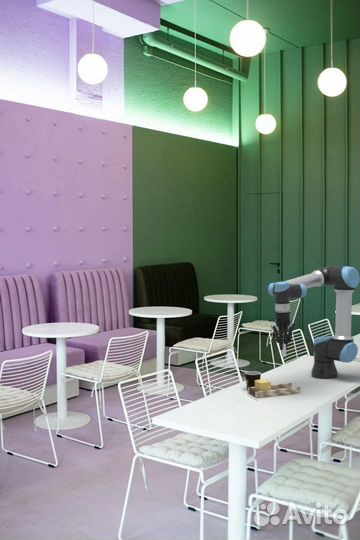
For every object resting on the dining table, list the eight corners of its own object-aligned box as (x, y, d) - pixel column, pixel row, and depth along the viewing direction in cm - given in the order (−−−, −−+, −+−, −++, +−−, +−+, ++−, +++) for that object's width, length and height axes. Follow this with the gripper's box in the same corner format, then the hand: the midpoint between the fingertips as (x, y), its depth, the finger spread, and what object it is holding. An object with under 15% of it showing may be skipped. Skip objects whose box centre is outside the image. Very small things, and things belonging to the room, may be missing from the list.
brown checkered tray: (290, 390, 334) (289, 382, 334) (300, 395, 322) (300, 387, 322) (247, 395, 326) (247, 387, 326) (257, 400, 315) (256, 392, 315)
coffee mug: (260, 393, 329) (260, 374, 328) (244, 393, 331) (244, 374, 330) (262, 388, 340) (261, 370, 340) (246, 387, 342) (246, 369, 342)
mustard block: (265, 392, 327) (265, 379, 326) (271, 395, 320) (271, 382, 320) (255, 393, 325) (254, 380, 324) (260, 396, 318) (260, 383, 318)
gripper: (274, 313, 318) (275, 358, 320) (297, 311, 322) (298, 356, 324) (268, 311, 325) (269, 355, 327) (290, 309, 329) (291, 353, 331)
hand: (283, 356), depth 325 cm, fingers closed
